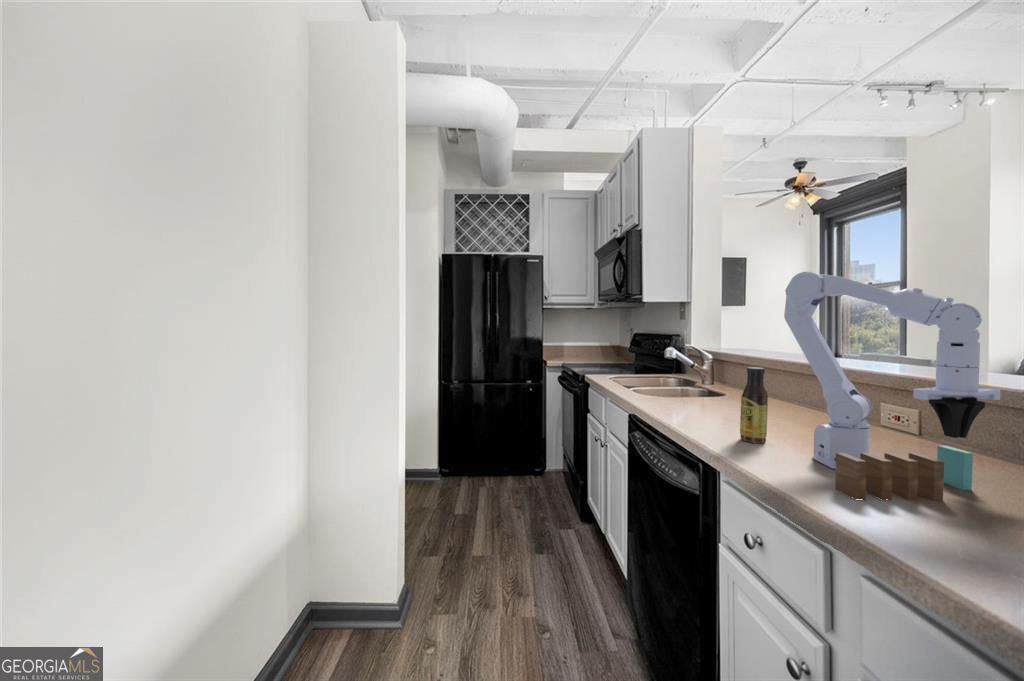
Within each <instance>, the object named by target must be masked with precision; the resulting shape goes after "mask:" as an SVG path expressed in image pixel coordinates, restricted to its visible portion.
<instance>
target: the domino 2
mask: <svg viewBox="0 0 1024 681" xmlns="http://www.w3.org/2000/svg"><path fill="white" fill-rule="evenodd" d="M860 459H862V460H864V461H866V492H867V493H866V494H868V493H869V494H868V495H870V494H871V496H872V495H873V496H872V497H874V496H875V497H874V498H876V497H878V498H880V499H882V500H881V501H892V461H890V460H887V459H885V458H884V457H881V456H879V455H876V454H874V453H871V452H869V453H860ZM878 498H877V499H878ZM880 499H879V500H880ZM886 499H888V500H886Z"/></svg>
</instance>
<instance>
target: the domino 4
mask: <svg viewBox="0 0 1024 681" xmlns="http://www.w3.org/2000/svg"><path fill="white" fill-rule="evenodd" d="M908 458H910V459H913V460H916V461H918V486H917V495H920V496H923V497H924V496H925V497H924V498H927V499H929V498H930V499H929V500H931V499H932V501H942V500H943V501H944V484H945V483H944V461H942V460H938V459H937V458H935V457H932V456H930V455H926V454H923V453H919V452H908Z"/></svg>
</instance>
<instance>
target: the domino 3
mask: <svg viewBox="0 0 1024 681" xmlns="http://www.w3.org/2000/svg"><path fill="white" fill-rule="evenodd" d="M883 454H884V457H883V458H885V459H887V460H890V461H892V493H893V494H892V493H891V494H892V495H895V496H897V497H899V496H900V497H899V498H901V497H902V499H904V500H905V501H906V500H907V501H918V494H917V486H918V461H916V460H913V459H910V458H909V457H906V456H904V455H901V454H898V453H895V452H884V453H883Z"/></svg>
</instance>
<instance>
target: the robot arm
mask: <svg viewBox="0 0 1024 681" xmlns="http://www.w3.org/2000/svg"><path fill="white" fill-rule="evenodd" d="M784 292H785V305H784V306H785V307H784V314H783V316H784V320H785V322H786V324H787V325H788V327H789V329H790V331H791V333H792V334H793V336H794V338H795V340H796V342H797V344H798V346H799V347H800V348H801V351H802V352H803V355H804V357H805V358H806V360H807V362H808V364H809V365H810V367H811V369H812V371H813V373H814V375H815V376H816V378H817V380H818V381H819V383H820V385H821V387H822V395H823V398H824V401H825V402H826V413H827V416H828V417H829V419H828V422H827V423H824V424H819V425H817V426H816V427H815V428H814V432H813V455H812V456H811V459H812V460H813V459H814V460H815V461H816V462H819V463H821V464H823V465H825V466H827V467H829V468H830V469H833V470H836V453H846V454H849V455H851V456H854V457H857V458H859V459H860V453H870V444H871V443H870V440H871V439H870V438H871V424H870V423H869V422H868V421H867V419H866V418H867V417H868V416H869V415H870V413H871V411H872V405H871V402H870V400H869V399H868V398H867V397H866V396H865V395H863V394H861V392H859V391H858V390H857V388H856V387H855V385H854V384H853V382H851V381H850V380H849V379H848V378H847V376H846V374H845V372H844V370H843V369H842V367H841V366H840V364H839V361H838V360H837V358H836V357H835V355H834V352H832V350H831V347H830V346H829V345H828V343H827V341H826V339H825V337H824V336H823V335H822V333H821V330H820V329H819V327H818V326H817V324H816V322H815V319H813V315H814V313H815V311H816V310H817V308H818V306H819V304H820V303H822V302H823V301H824V300H825V299H826V298H827V297H839V296H849V297H852V298H855V299H860V300H862V301H866V302H870V303H872V304H873V303H875V304H877V305H882V306H884V307H887V309H888V312H889V314H890V315H891V316H894V317H898V318H901V319H904V320H908V321H910V322H911V321H912V322H914V323H917V324H920V325H923V326H926V327H930V326H933V325H935V326H937V328H938V341H937V342H936V358H935V359H936V361H935V362H936V363H935V387H934V386H933V387H923V388H920V387H919V388H913V391H912V392H913V397H912V398H913V399H916V400H920V401H928V403H929V405H930V406H931V407H932V408H933V410H934V411H935V413H936V415H937V418H938V420H939V422H940V425H941V428H942V432H943V435H944V436H946V437H949V438H953V439H958V438H962V439H966V438H967V437H968V434H969V431H970V429H971V426H972V425H973V422H974V421H975V419H976V418H977V416H978V415H979V414H980V413H981V411H983V410H984V409H985V408H986V402H985V401H981V400H994V401H999V400H1001V389H999V388H998V389H997V388H996V389H995V388H991V387H988V388H987V387H984V388H983V387H979V386H980V359H981V358H980V356H981V343H980V342H979V340H980V335H981V334H980V331H979V329H978V328H979V327H980V326H981V324H982V321H983V318H982V316H981V313H980V311H979V310H978V309H977V308H975V307H974V306H973V305H969V304H967V303H964V302H963V303H962V302H959V303H953V302H954V301H955V298H953V297H949V296H947V297H946V298H943V297H940V296H936V295H932V294H929V293H925V292H924V290H923V289H921V288H918V287H914V288H913V289H909V288H903V289H901V290H898V291H895V292H894V291H891V290H887V289H884V288H881V287H877V286H873V285H870V284H866V283H864V282H861V281H857V280H854V279H850V278H847V277H844V276H837V275H831V274H823V273H819V274H817V273H814V272H812V271H801V272H799V273H797V274H795V275H794V276H793V277H792V278H791V280H790V281H789V283H788V284H787V286H786V287H785V290H784Z"/></svg>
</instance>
